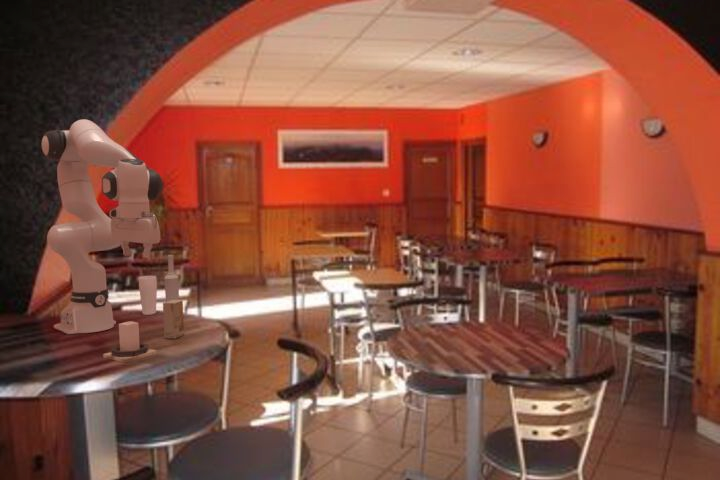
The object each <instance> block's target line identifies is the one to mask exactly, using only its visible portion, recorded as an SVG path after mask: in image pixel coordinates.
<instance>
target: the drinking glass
mask: <svg viewBox="0 0 720 480" xmlns="http://www.w3.org/2000/svg"><path fill="white" fill-rule="evenodd" d="M157 281H158V280H157V275H144V276H143V275H142V276H139V277H138V288H139V289H138V290H139V296H140V303H141V313H142V315H144V316H151V315H155V314H156V313H157V294H158V292H157V291H158V282H157Z"/></svg>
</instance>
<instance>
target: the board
mask: <svg viewBox="0 0 720 480" xmlns="http://www.w3.org/2000/svg"><path fill="white" fill-rule="evenodd" d="M139 344H140V349H138V350H134V351H120V344H119V345H115V346H113V347H112V349H111V350H110V351H109V352H106V353H103V354H102V357H103V358H104V359H109V360H113V361H117V362H120V363H125V364H128V363H130V362H133V361H134V362H135V361H137V360H140V359H144V358H147V357H150V356H153V355H157V354H158V350H157V349H152V348H149V344H147V343H143V342H139Z"/></svg>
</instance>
